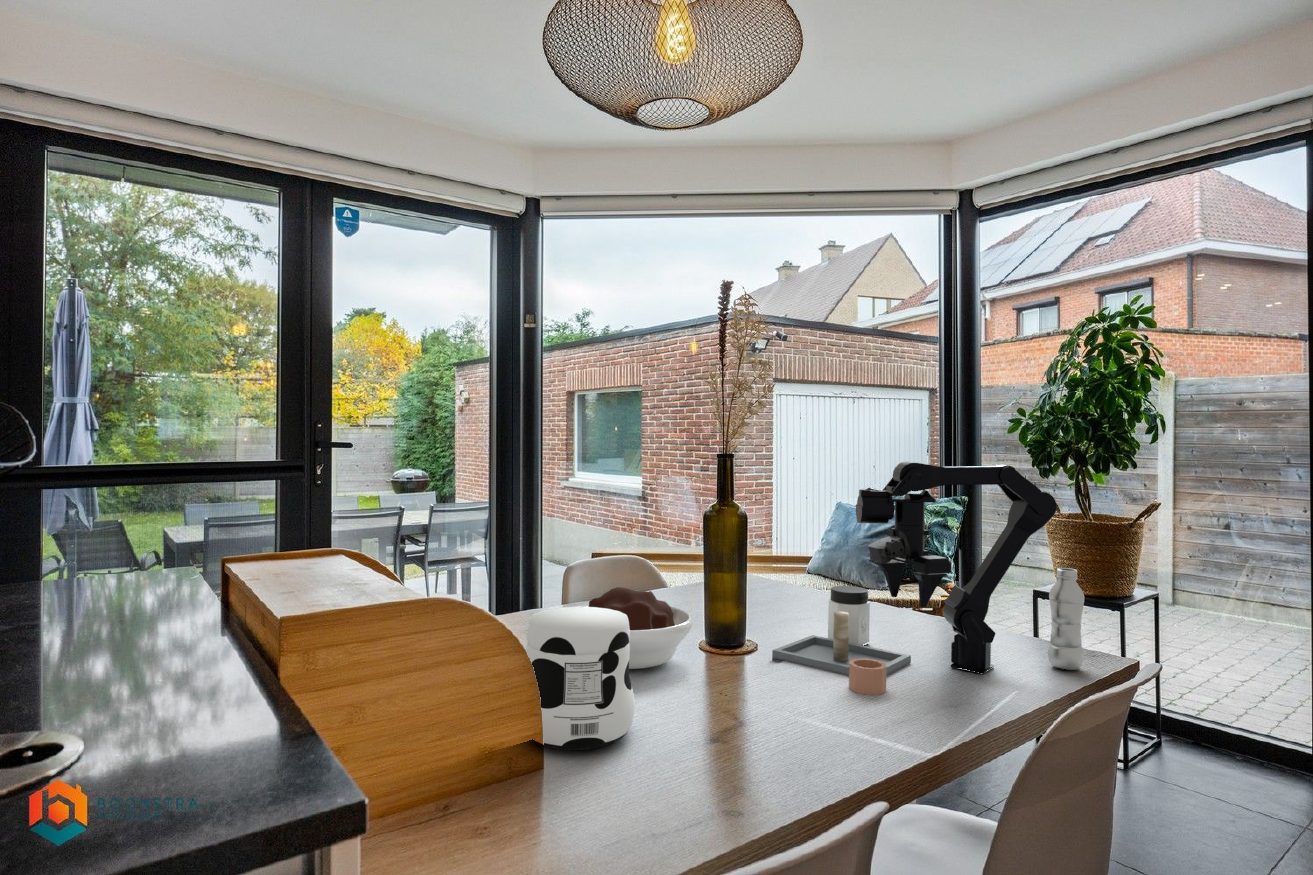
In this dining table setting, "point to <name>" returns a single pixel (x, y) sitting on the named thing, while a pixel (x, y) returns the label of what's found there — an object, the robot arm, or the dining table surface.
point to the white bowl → (647, 625)
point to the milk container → (582, 675)
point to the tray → (821, 655)
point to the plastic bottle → (1066, 621)
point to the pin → (841, 636)
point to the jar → (851, 612)
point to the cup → (867, 676)
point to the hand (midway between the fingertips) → (908, 601)
